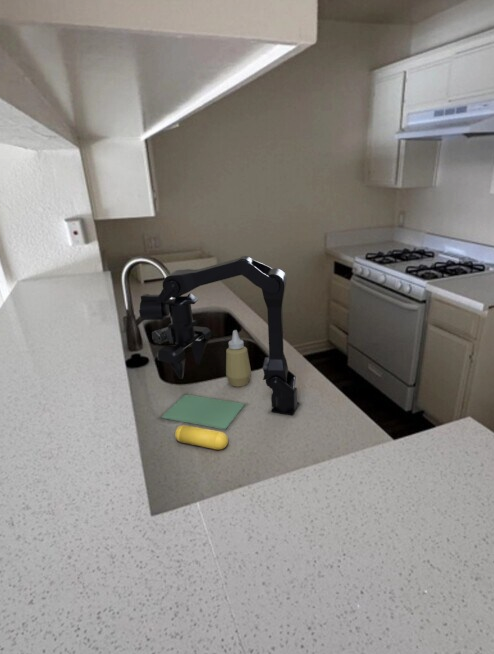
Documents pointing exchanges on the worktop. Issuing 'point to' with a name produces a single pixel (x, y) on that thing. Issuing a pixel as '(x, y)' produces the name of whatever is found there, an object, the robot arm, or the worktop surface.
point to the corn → (201, 437)
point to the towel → (204, 411)
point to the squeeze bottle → (237, 362)
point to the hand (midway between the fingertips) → (189, 371)
